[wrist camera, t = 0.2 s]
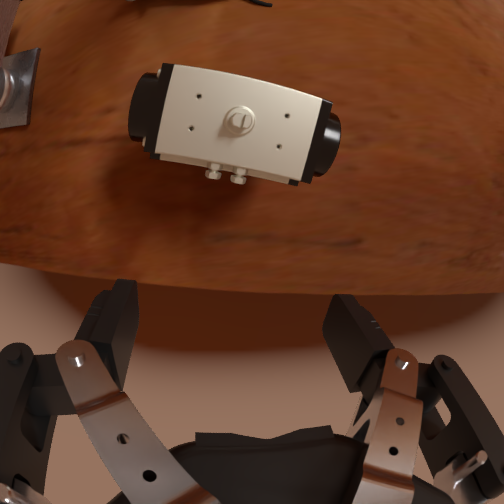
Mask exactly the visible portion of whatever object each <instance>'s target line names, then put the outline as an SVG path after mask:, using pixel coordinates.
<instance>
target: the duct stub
mask: <svg viewBox="0 0 504 504" xmlns="http://www.w3.org/2000/svg"><path fill="white" fill-rule="evenodd" d="M40 51H41V49H40V48H35V49H31V50H27V51H23V52H20V53H16V54H13V55H10V56H7V57H4V60H3V65H2V69H3V71H4V73H5V88H4V92H3V96H2V98H1V101H0V128H5V127H12V126H19V125H27V124H30V115H31V105H32V97H33V89H34V82H35V76H36V71H37V65H38V60H39V55H40Z"/></svg>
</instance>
